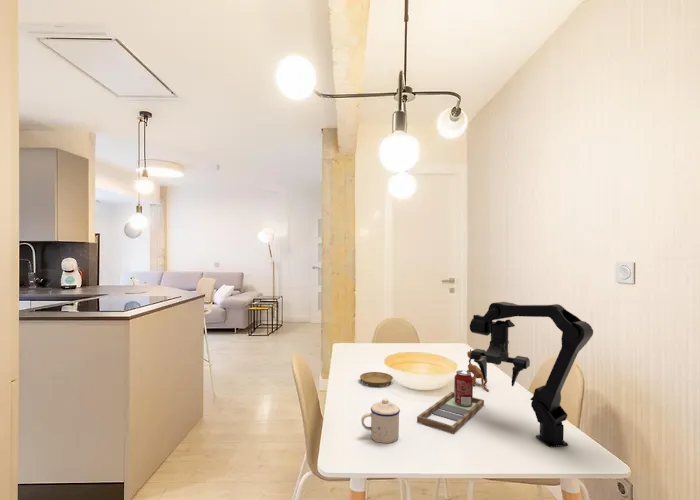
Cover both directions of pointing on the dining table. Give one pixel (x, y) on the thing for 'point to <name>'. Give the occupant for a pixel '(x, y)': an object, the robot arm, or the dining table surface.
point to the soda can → (463, 388)
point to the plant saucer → (376, 378)
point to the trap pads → (450, 415)
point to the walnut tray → (442, 426)
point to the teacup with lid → (383, 421)
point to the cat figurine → (476, 372)
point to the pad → (452, 403)
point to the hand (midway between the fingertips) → (498, 383)
